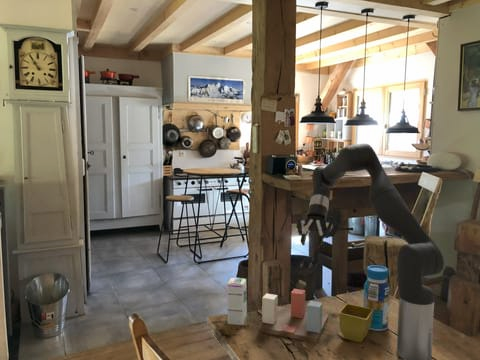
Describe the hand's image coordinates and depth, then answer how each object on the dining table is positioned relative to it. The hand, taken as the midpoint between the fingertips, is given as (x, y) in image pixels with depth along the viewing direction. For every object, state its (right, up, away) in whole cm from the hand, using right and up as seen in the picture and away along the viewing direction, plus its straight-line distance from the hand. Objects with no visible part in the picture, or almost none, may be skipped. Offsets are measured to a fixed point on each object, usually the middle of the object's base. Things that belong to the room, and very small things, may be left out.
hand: (310, 244), depth 156 cm
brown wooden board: (-8, -24, -17) cm, 31 cm away
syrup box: (-28, -24, -14) cm, 39 cm away
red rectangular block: (-7, -22, -13) cm, 27 cm away
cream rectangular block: (-17, -23, -18) cm, 33 cm away
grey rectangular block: (-3, -23, -24) cm, 33 cm away
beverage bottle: (+19, -25, -17) cm, 35 cm away
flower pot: (+10, -26, -25) cm, 37 cm away
